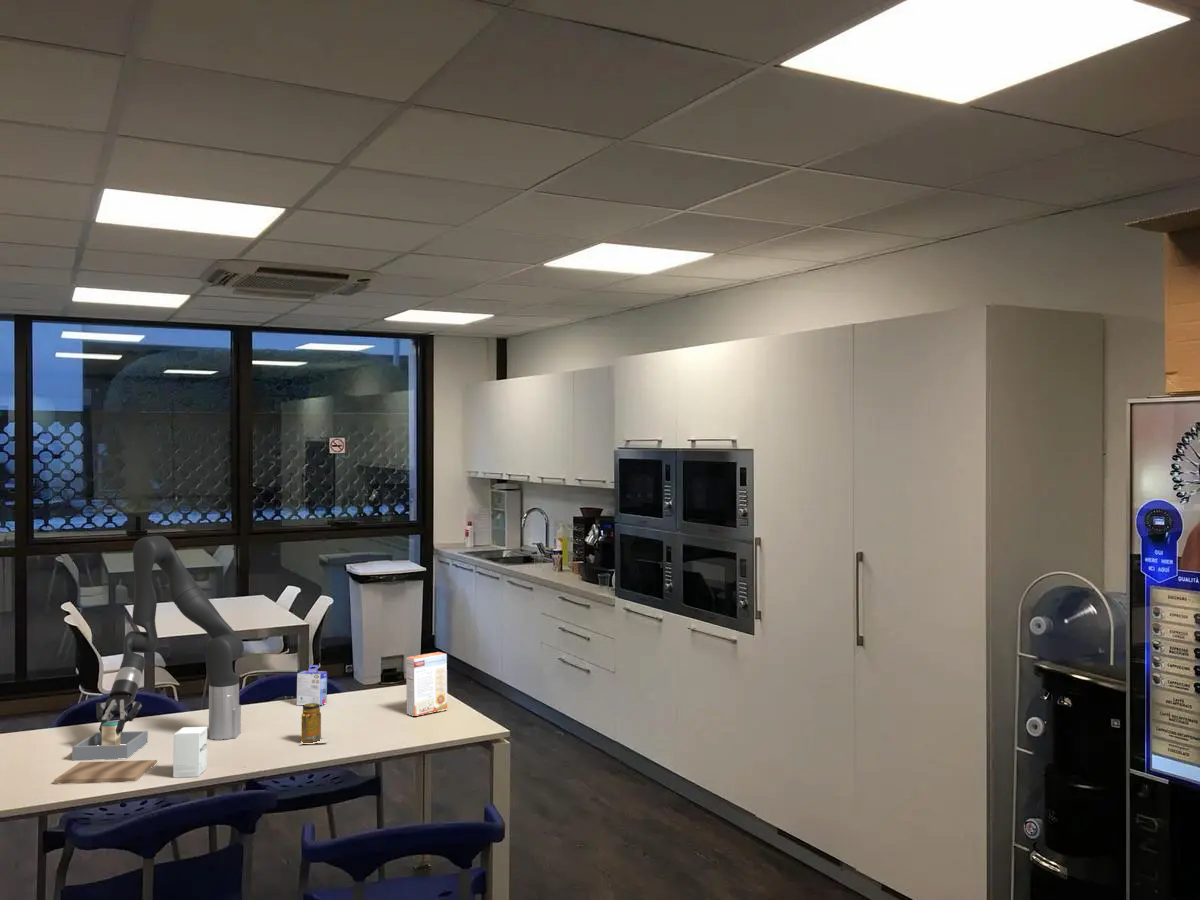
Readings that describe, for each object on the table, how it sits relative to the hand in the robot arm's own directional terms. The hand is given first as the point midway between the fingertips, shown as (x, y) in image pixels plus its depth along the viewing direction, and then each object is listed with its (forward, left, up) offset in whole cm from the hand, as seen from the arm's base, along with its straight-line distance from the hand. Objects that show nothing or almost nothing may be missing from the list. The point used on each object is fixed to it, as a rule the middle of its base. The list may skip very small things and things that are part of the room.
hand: (109, 732), depth 293 cm
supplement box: (-32, +23, -7) cm, 40 cm away
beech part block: (0, -1, -6) cm, 6 cm away
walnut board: (-8, +21, -6) cm, 23 cm away
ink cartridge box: (-50, -55, -7) cm, 75 cm away
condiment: (-61, -6, -7) cm, 62 cm away
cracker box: (-94, -39, -7) cm, 102 cm away
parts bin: (0, -1, -6) cm, 6 cm away
